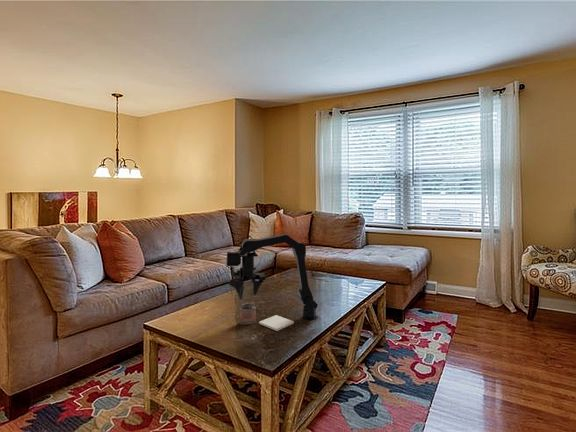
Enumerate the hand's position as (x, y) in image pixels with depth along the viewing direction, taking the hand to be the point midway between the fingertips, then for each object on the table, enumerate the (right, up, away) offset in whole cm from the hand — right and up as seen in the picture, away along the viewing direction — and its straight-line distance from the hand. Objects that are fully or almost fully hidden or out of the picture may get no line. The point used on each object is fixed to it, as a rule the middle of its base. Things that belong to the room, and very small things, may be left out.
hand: (247, 297), depth 168 cm
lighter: (0, -13, +2) cm, 13 cm away
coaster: (+14, -13, +1) cm, 19 cm away
